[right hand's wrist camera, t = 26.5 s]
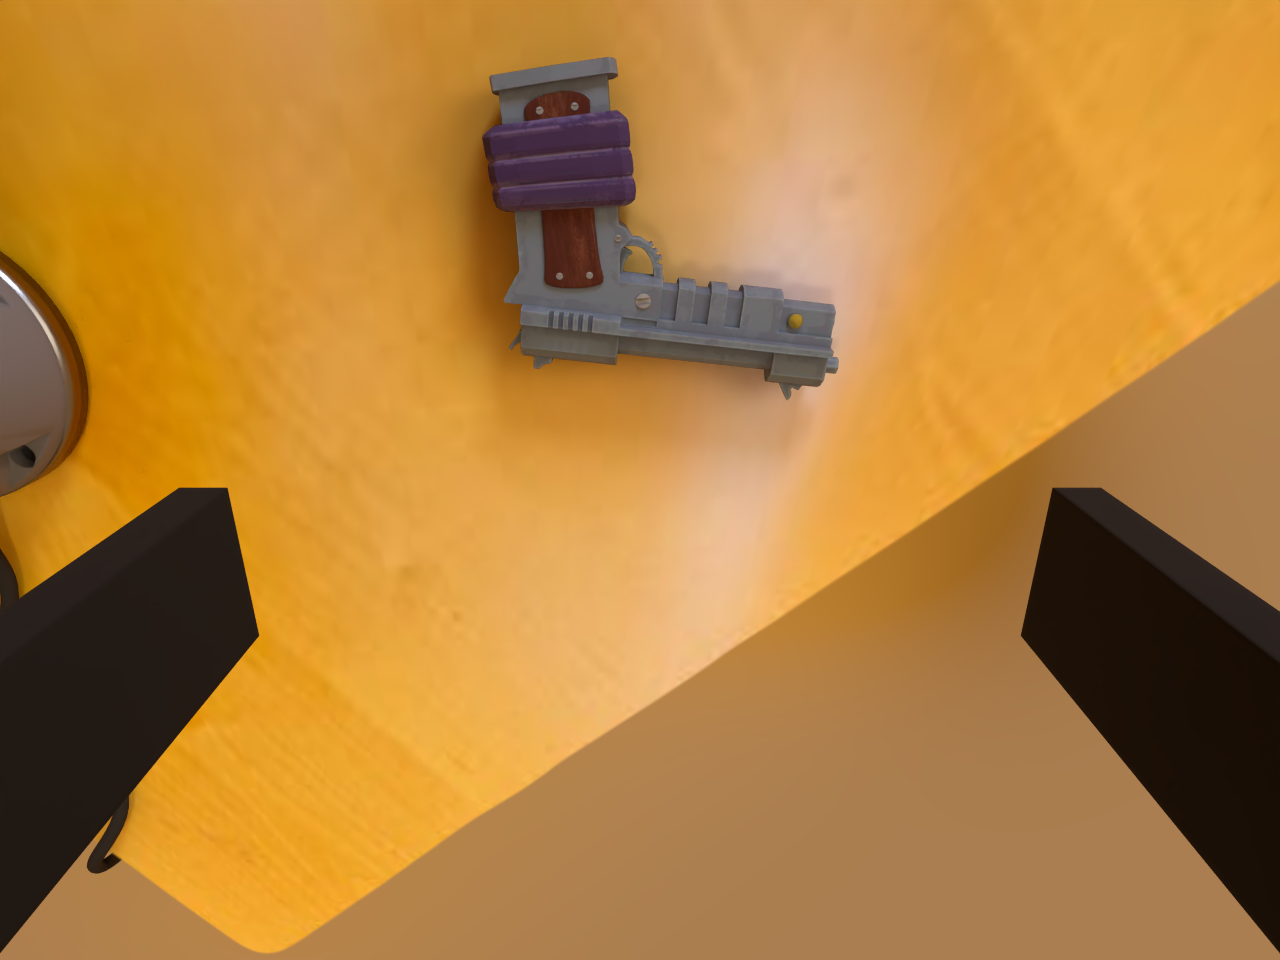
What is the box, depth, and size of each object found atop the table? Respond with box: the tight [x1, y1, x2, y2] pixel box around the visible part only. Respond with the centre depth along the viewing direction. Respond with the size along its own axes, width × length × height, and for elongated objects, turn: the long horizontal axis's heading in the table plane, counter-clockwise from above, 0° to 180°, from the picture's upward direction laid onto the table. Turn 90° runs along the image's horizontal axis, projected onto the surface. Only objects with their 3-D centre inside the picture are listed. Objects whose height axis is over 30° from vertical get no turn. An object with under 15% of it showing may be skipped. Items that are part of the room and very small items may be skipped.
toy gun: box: [482, 57, 839, 400], centre depth 38 cm, size 4×19×15 cm
